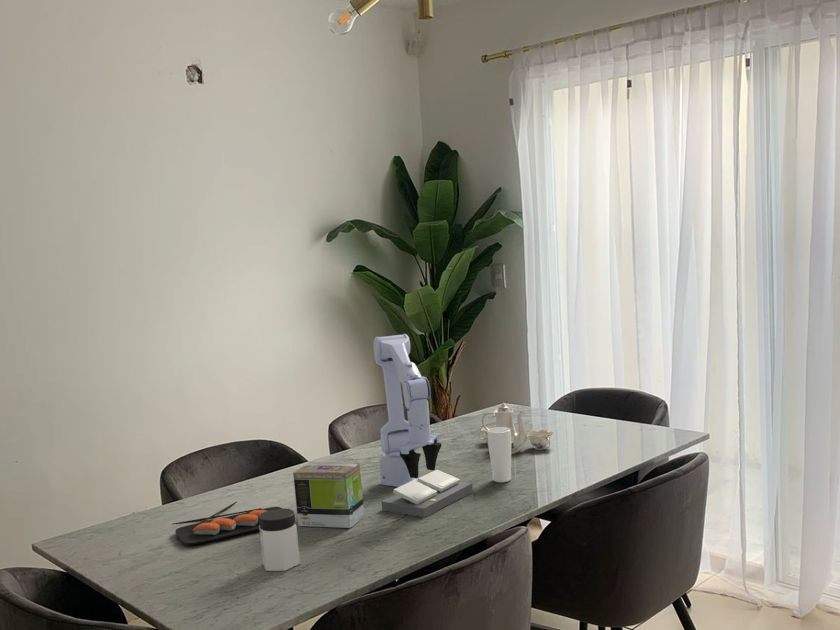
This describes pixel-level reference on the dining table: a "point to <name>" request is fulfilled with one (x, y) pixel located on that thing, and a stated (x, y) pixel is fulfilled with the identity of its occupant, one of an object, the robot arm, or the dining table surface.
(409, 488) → the switch
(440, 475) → the switch
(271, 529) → the jar
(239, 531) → the sushi plate
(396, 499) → the switch panel
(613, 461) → the dining table surface
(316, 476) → the tea box
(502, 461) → the drinking glass
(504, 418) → the chinaware
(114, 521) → the dining table surface
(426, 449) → the robot arm
